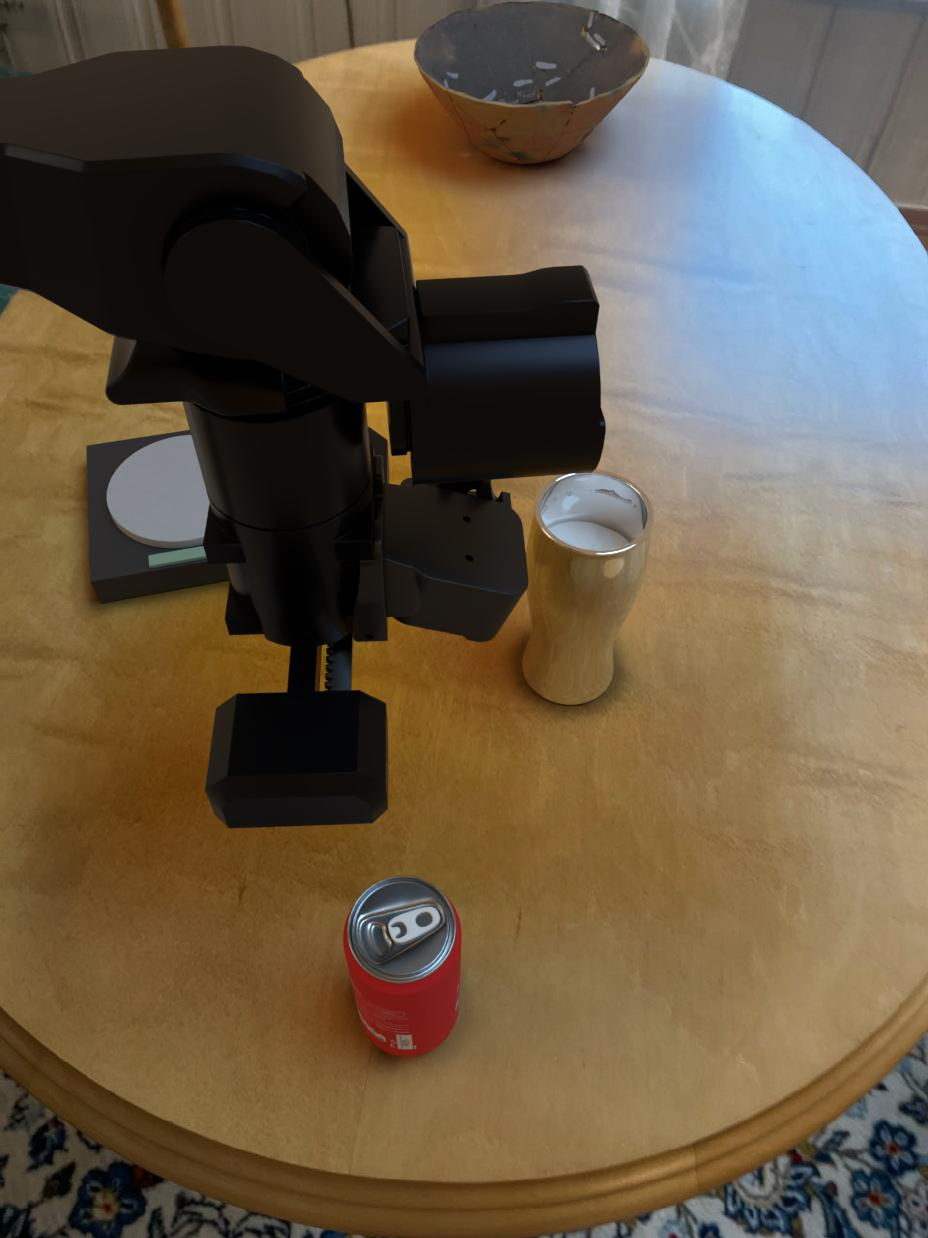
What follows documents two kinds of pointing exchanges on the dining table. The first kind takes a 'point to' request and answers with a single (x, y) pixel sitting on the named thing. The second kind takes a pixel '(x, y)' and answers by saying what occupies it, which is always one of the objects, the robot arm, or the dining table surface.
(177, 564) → the scale
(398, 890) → the beverage can
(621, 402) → the dining table surface
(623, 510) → the beer glass
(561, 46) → the bowl
